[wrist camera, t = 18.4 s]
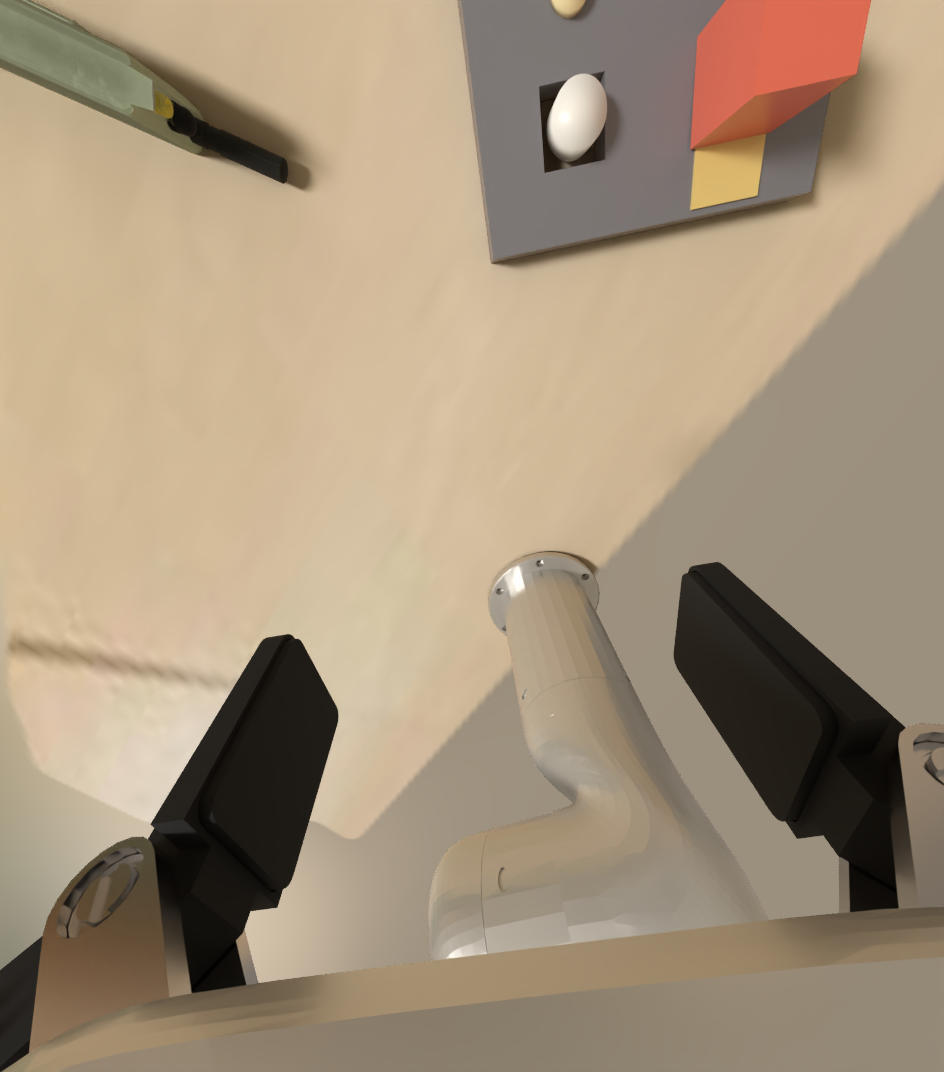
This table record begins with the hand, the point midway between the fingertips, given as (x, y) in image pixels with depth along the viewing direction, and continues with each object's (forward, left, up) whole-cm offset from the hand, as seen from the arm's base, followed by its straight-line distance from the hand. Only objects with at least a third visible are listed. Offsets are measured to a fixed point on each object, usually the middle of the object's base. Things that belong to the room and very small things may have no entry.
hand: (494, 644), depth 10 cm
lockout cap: (+17, -20, -26) cm, 37 cm away
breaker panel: (+18, -15, -28) cm, 37 cm away
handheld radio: (+24, +20, -29) cm, 42 cm away
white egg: (+16, -10, -27) cm, 33 cm away
